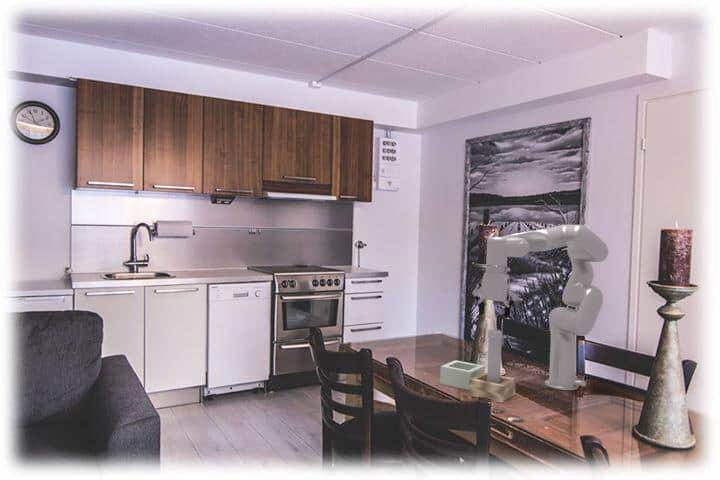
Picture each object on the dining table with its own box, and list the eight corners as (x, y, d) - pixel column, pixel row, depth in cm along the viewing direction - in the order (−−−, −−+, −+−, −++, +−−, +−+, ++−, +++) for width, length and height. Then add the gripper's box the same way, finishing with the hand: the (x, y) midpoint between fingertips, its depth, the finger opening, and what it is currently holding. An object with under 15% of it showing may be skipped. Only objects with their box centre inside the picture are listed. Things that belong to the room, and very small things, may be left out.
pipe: (501, 397, 195) (504, 316, 195) (483, 396, 197) (486, 315, 196) (500, 393, 201) (503, 314, 200) (483, 391, 202) (486, 313, 201)
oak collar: (515, 394, 200) (515, 378, 200) (502, 403, 190) (502, 386, 190) (482, 387, 208) (483, 372, 208) (468, 395, 197) (469, 379, 197)
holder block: (484, 383, 214) (484, 365, 214) (470, 390, 203) (471, 372, 203) (454, 376, 222) (455, 360, 221) (440, 383, 211) (440, 366, 211)
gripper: (522, 271, 195) (520, 317, 196) (478, 267, 206) (476, 311, 206) (515, 272, 189) (512, 320, 190) (470, 268, 200) (468, 313, 200)
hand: (493, 315), depth 198 cm, fingers open, 9 cm apart
